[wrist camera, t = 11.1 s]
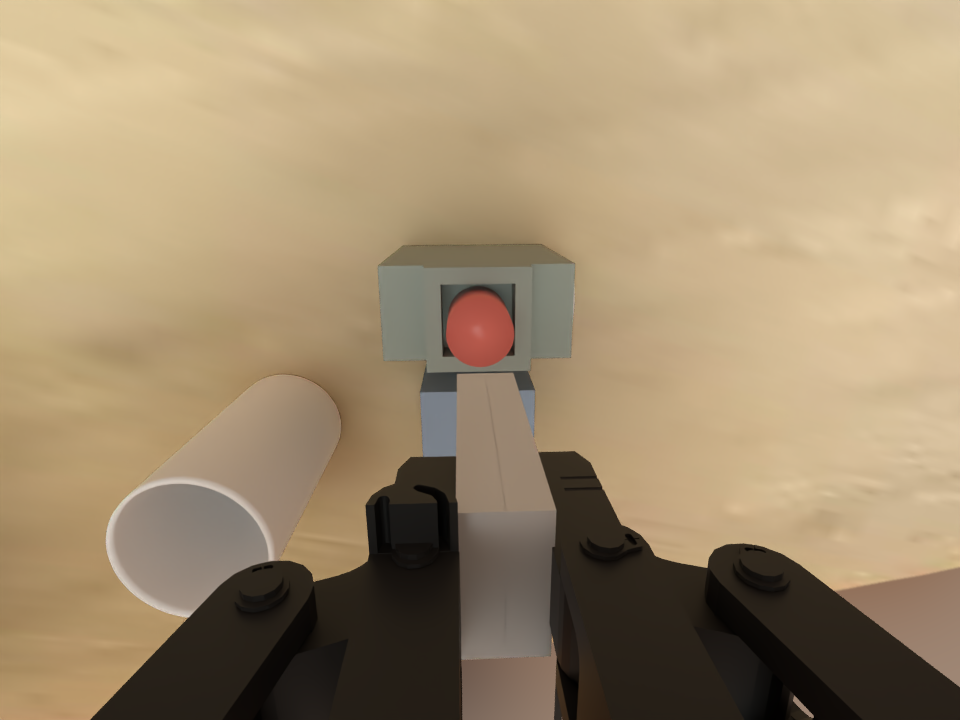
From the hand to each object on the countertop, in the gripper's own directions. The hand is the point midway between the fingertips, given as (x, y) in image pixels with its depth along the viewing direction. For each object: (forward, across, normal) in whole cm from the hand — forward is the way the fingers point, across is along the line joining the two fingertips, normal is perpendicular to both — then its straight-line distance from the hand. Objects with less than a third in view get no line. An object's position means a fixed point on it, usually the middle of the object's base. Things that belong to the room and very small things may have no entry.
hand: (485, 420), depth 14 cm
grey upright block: (+26, 0, 0) cm, 26 cm away
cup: (+26, -14, -11) cm, 32 cm away
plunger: (+13, 0, 0) cm, 13 cm away
